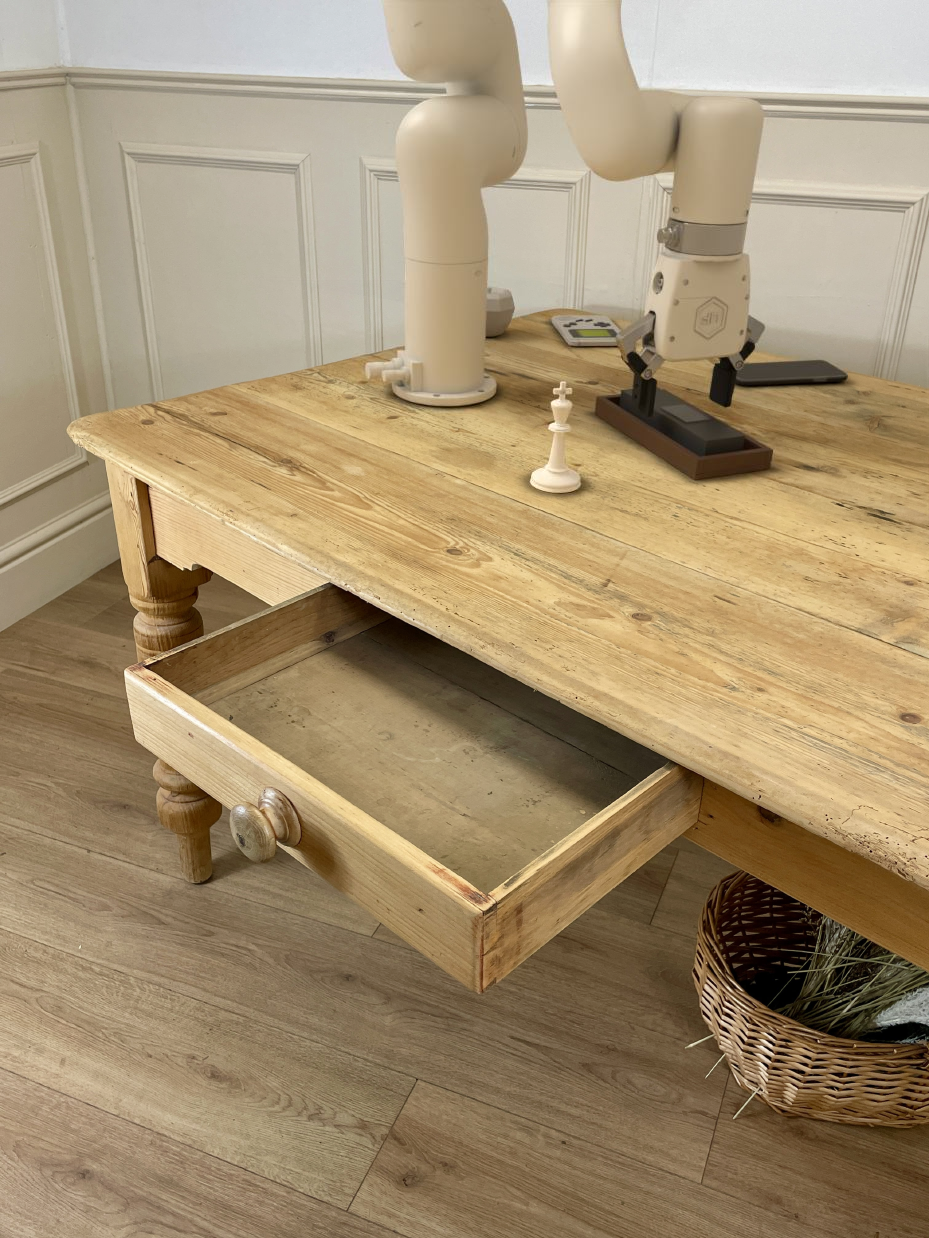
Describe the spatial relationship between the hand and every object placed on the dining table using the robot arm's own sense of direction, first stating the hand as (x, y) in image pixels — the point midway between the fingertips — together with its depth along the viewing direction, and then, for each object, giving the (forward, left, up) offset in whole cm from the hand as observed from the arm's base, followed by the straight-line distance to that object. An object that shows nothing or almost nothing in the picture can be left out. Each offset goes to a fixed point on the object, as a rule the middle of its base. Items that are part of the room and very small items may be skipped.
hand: (681, 408), depth 106 cm
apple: (-3, +46, -4) cm, 46 cm away
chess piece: (-18, -7, -4) cm, 20 cm away
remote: (0, 0, -3) cm, 3 cm away
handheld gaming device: (+12, +42, -4) cm, 44 cm away
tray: (0, 0, -4) cm, 4 cm away
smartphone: (+26, +15, -4) cm, 30 cm away
